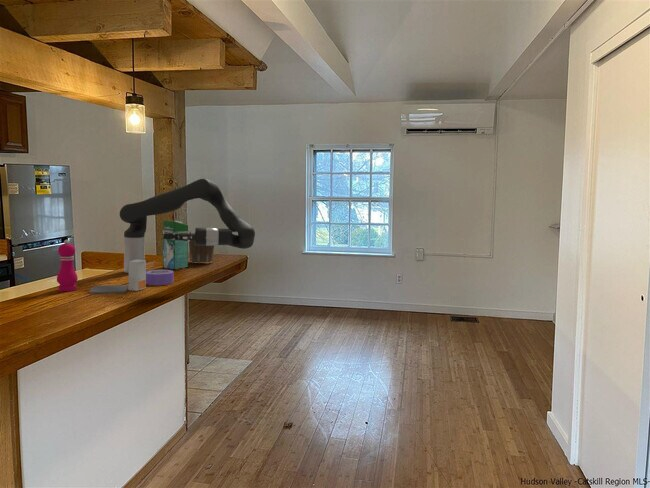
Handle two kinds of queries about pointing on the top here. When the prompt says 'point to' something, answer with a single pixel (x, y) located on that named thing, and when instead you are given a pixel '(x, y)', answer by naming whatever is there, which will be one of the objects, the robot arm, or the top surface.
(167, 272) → the tape roll
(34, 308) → the top surface
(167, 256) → the milk carton
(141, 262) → the skincare box
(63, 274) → the pepper mill
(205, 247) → the plant pot
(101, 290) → the mat
